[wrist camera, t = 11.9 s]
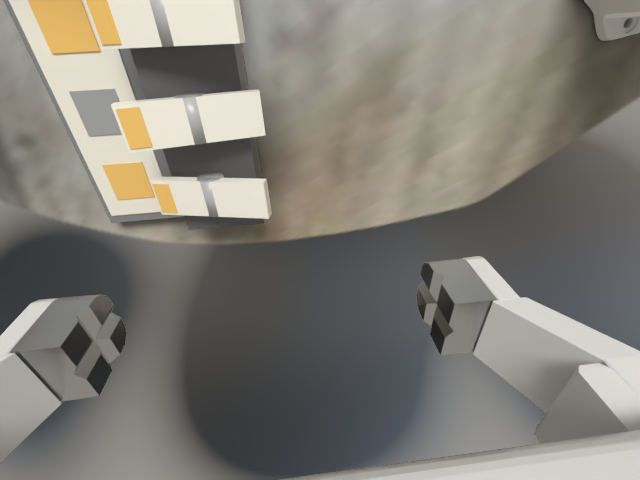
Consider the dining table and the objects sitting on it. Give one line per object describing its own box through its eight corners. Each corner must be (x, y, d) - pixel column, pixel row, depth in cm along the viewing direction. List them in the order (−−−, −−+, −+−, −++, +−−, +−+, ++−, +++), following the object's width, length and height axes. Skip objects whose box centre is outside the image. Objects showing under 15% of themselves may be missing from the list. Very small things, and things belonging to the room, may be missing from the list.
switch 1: (243, -21, 21) (228, -26, 19) (252, 41, 23) (239, 43, 21) (104, -10, 23) (78, -13, 21) (123, 47, 25) (101, 49, 23)
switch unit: (225, -59, 25) (213, -78, 21) (266, 204, 39) (264, 227, 34) (-8, -51, 24) (-75, -70, 20) (117, 216, 38) (94, 242, 33)
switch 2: (255, 87, 27) (259, 91, 25) (261, 129, 29) (265, 135, 27) (117, 99, 25) (110, 105, 23) (134, 144, 27) (129, 153, 25)
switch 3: (270, 173, 29) (263, 183, 27) (275, 207, 31) (268, 219, 29) (163, 171, 31) (148, 181, 29) (174, 203, 33) (161, 214, 31)
